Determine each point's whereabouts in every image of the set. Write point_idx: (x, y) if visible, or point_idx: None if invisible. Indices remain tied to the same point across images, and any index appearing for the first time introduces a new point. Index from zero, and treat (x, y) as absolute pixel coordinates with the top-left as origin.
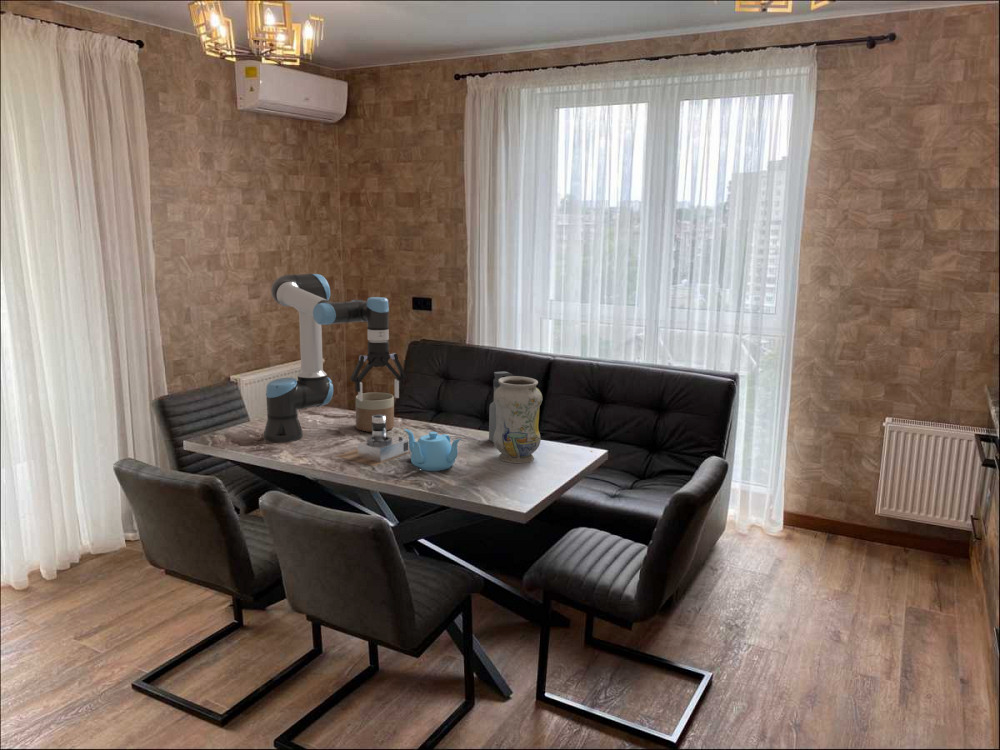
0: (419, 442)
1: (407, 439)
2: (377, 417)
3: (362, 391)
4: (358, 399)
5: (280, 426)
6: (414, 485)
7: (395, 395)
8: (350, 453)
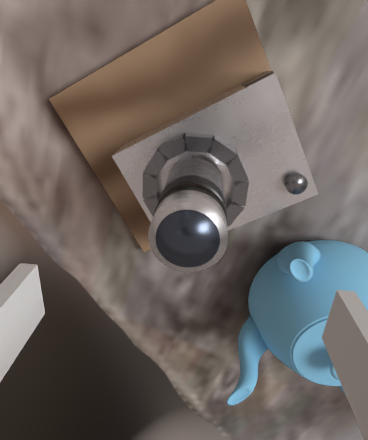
0: (282, 343)
1: (317, 193)
2: (169, 260)
3: (2, 378)
4: (19, 266)
5: None
6: (192, 376)
7: (335, 320)
8: (108, 91)
